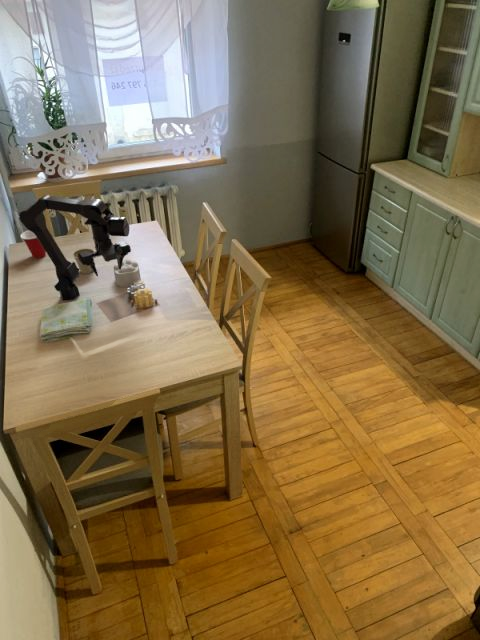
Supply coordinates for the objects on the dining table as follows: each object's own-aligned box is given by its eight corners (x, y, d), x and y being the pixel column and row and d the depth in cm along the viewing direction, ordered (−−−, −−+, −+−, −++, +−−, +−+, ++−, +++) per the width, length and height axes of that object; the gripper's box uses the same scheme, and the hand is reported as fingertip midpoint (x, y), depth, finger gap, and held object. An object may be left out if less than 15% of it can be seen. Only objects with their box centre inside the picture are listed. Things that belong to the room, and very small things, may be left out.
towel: (40, 345, 163) (36, 333, 161) (45, 313, 180) (42, 302, 178) (93, 337, 167) (90, 325, 164) (93, 306, 184) (91, 295, 181)
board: (111, 324, 173) (110, 318, 171) (96, 305, 184) (95, 300, 182) (160, 307, 182) (159, 301, 180) (143, 290, 193) (142, 285, 191)
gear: (132, 301, 184) (130, 293, 181) (125, 294, 188) (124, 286, 186) (147, 296, 187) (146, 288, 185) (140, 289, 191) (139, 281, 189)
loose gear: (140, 309, 178) (137, 297, 175) (132, 302, 183) (130, 289, 180) (155, 304, 181) (154, 291, 178) (148, 296, 186) (146, 284, 183)
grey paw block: (117, 290, 193) (114, 272, 188) (114, 276, 204) (111, 258, 199) (142, 286, 196) (139, 267, 191) (138, 272, 206) (135, 254, 201)
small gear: (139, 292, 190) (138, 285, 189) (131, 288, 192) (131, 282, 191) (147, 288, 193) (146, 282, 192) (139, 285, 195) (139, 279, 194)
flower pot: (95, 275, 204) (91, 257, 199) (73, 275, 204) (69, 258, 200) (100, 265, 212) (97, 248, 207) (80, 265, 212) (76, 248, 207)
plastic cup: (26, 253, 223) (19, 230, 217) (49, 249, 227) (43, 226, 220) (27, 263, 215) (20, 239, 208) (52, 258, 219) (45, 234, 212)
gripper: (83, 249, 160) (92, 288, 169) (133, 236, 169) (139, 273, 178) (73, 238, 168) (82, 276, 177) (121, 226, 176) (128, 263, 185)
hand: (108, 272), depth 179 cm, fingers open, 9 cm apart
